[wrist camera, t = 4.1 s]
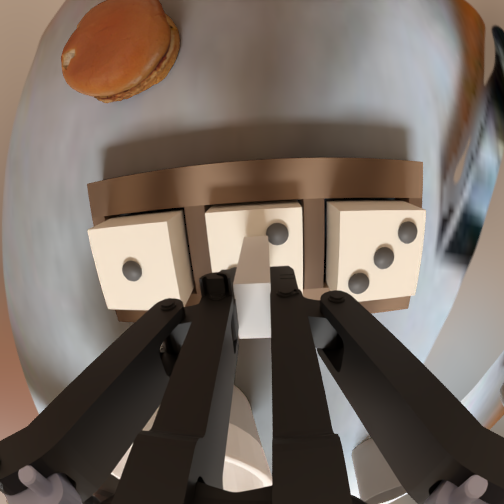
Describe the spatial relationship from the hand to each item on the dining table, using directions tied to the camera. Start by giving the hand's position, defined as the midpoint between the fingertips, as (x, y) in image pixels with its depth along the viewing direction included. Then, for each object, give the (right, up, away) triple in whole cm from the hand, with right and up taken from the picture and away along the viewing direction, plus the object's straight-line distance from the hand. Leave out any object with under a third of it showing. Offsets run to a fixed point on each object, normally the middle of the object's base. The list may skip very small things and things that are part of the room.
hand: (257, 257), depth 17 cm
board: (0, +1, +4) cm, 4 cm away
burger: (-11, +17, -1) cm, 20 cm away
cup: (+19, -31, +15) cm, 39 cm away
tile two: (0, +1, +4) cm, 4 cm away
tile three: (+8, +1, +2) cm, 8 cm away
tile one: (-8, 0, +3) cm, 8 cm away
